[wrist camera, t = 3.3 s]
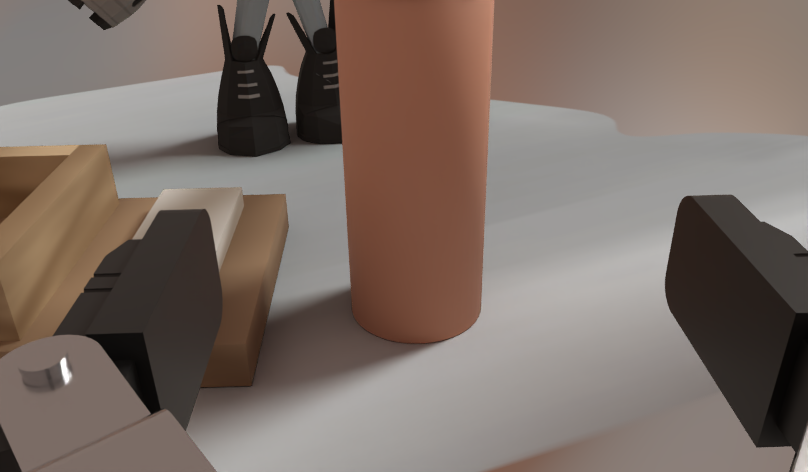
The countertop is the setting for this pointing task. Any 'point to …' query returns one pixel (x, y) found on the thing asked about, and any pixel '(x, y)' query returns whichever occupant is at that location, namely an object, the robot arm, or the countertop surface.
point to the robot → (263, 76)
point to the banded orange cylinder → (415, 161)
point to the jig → (112, 226)
